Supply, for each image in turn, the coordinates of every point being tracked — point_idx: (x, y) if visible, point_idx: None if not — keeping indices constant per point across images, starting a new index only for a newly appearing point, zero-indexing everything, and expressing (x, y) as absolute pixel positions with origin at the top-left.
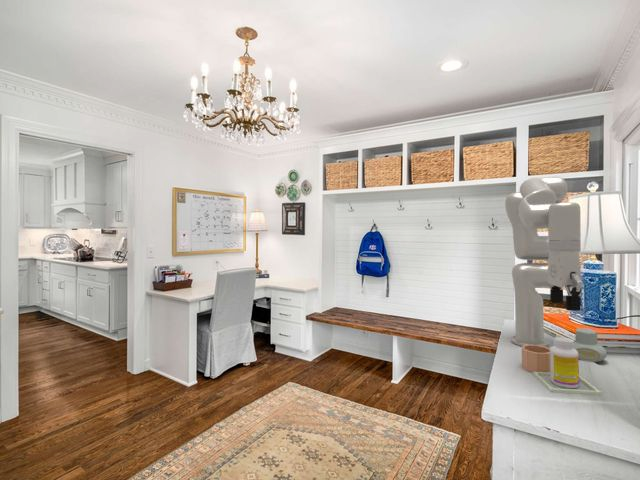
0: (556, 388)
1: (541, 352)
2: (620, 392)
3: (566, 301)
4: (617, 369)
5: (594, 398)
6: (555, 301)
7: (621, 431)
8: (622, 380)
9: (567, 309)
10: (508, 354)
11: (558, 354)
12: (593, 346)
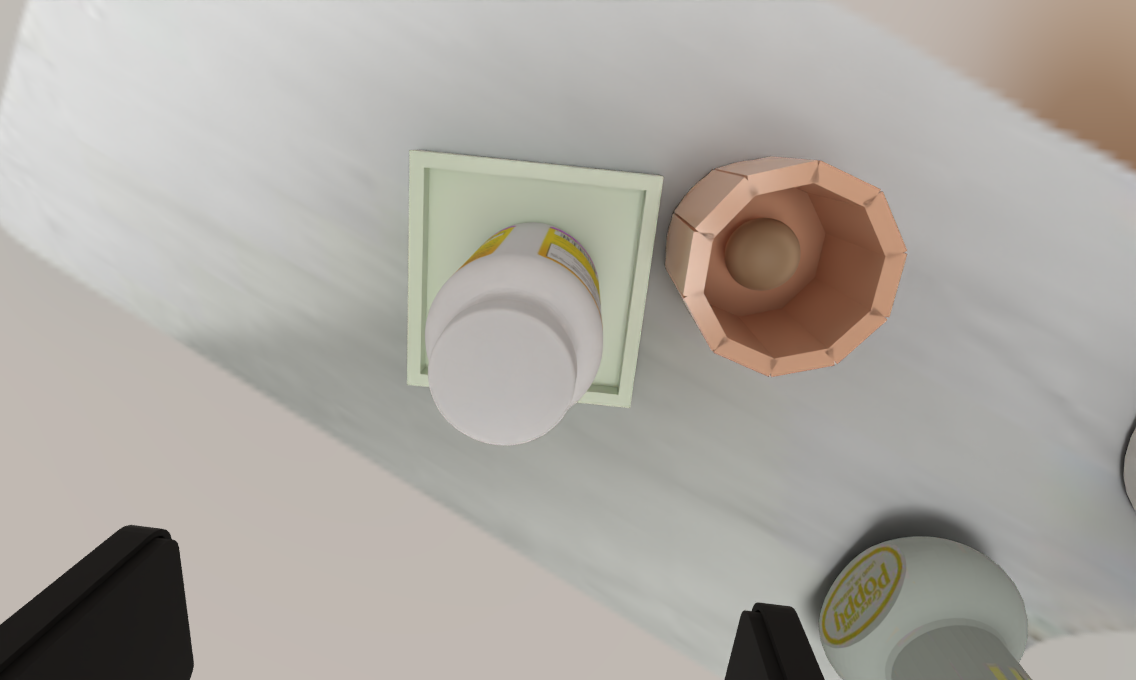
0: (422, 188)
1: (825, 321)
2: (487, 486)
3: (10, 638)
4: None
5: None
6: (733, 665)
7: (116, 263)
8: (619, 573)
9: (127, 532)
10: (1064, 197)
11: (454, 273)
12: (878, 663)
